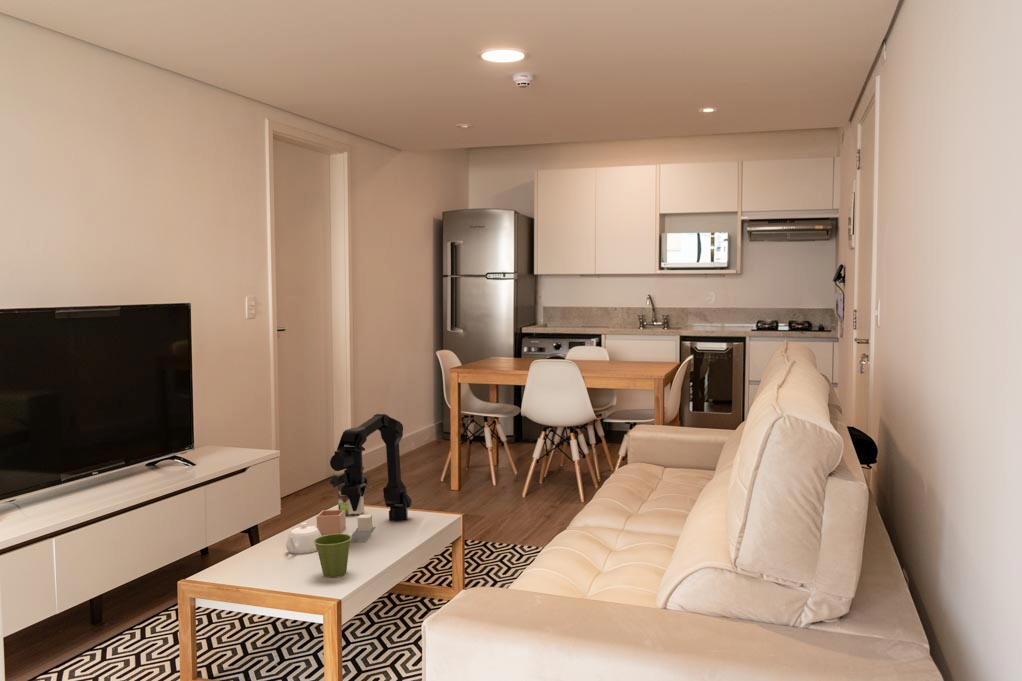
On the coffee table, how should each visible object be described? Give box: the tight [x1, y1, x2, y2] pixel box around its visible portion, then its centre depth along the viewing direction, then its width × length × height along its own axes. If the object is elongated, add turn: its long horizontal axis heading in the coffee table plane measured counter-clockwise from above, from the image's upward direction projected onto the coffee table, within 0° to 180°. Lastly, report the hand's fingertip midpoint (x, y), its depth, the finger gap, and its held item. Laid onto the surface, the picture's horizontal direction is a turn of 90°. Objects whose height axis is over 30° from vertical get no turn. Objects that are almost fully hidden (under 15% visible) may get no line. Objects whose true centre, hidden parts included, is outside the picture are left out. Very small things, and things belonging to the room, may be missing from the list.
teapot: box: [285, 522, 322, 555], centre depth 275 cm, size 20×12×10 cm, turn 168°
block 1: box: [348, 496, 365, 514], centre depth 283 cm, size 4×4×5 cm
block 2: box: [356, 513, 374, 531], centre depth 296 cm, size 4×4×5 cm
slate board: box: [350, 526, 377, 544], centre depth 290 cm, size 7×20×1 cm, turn 179°
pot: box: [316, 509, 347, 536], centre depth 295 cm, size 8×8×8 cm
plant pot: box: [313, 533, 352, 578], centre depth 251 cm, size 12×12×11 cm
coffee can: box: [337, 483, 365, 518], centre depth 320 cm, size 10×10×14 cm
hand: (356, 509), depth 283 cm, fingers closed on block 1, 4 cm apart
